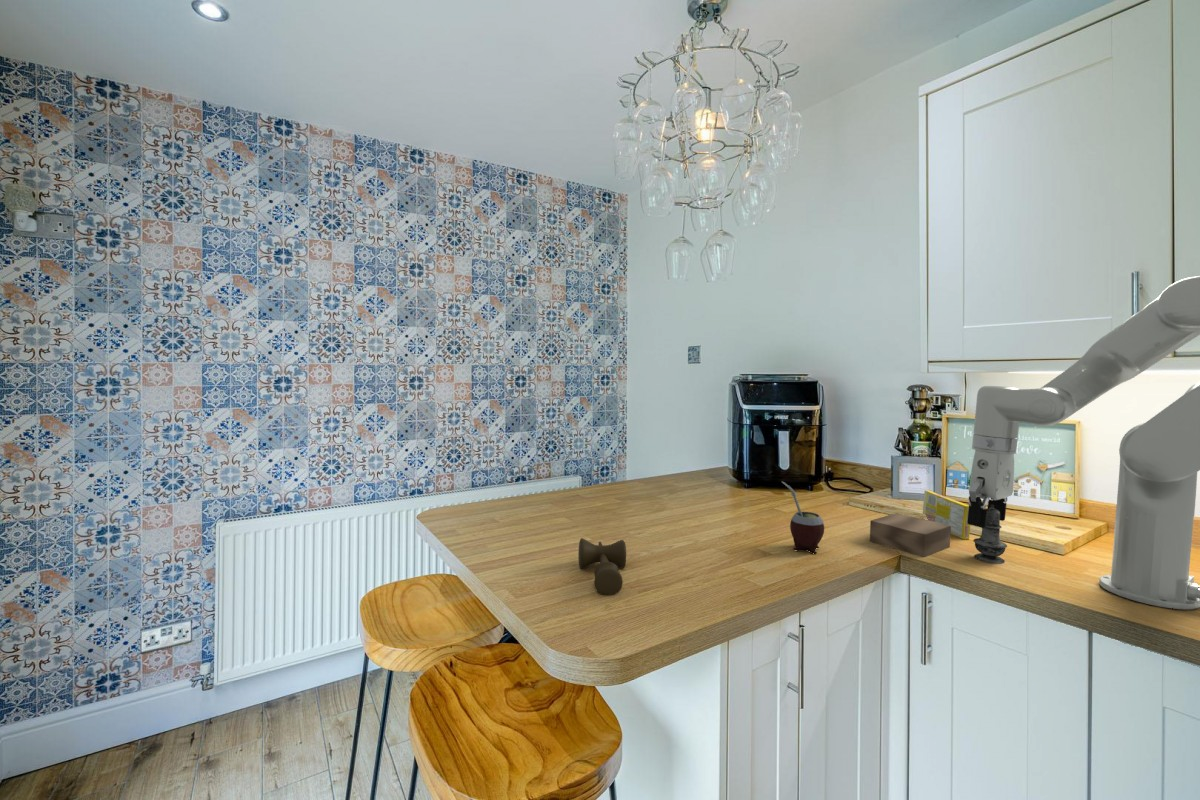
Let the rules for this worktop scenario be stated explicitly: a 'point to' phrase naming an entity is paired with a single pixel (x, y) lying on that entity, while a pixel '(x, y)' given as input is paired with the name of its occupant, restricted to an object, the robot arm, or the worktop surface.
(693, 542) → the worktop surface
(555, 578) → the worktop surface
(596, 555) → the kendama
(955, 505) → the candy box
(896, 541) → the walnut block
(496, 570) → the worktop surface
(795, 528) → the mate gourd
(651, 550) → the worktop surface
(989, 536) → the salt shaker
